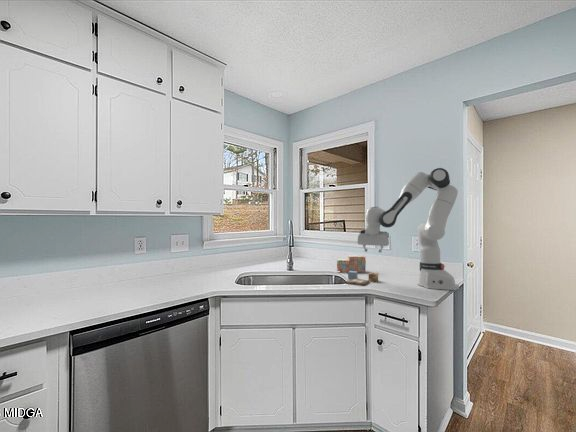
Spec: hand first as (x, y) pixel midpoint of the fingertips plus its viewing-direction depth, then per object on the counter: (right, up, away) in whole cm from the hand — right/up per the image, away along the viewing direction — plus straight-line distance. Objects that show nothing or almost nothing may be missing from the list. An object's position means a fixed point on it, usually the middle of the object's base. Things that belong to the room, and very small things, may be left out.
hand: (373, 252), depth 197 cm
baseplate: (-11, -19, -6) cm, 23 cm away
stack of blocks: (-7, -20, +35) cm, 40 cm away
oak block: (0, -19, 0) cm, 19 cm away
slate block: (-12, -19, +7) cm, 24 cm away
